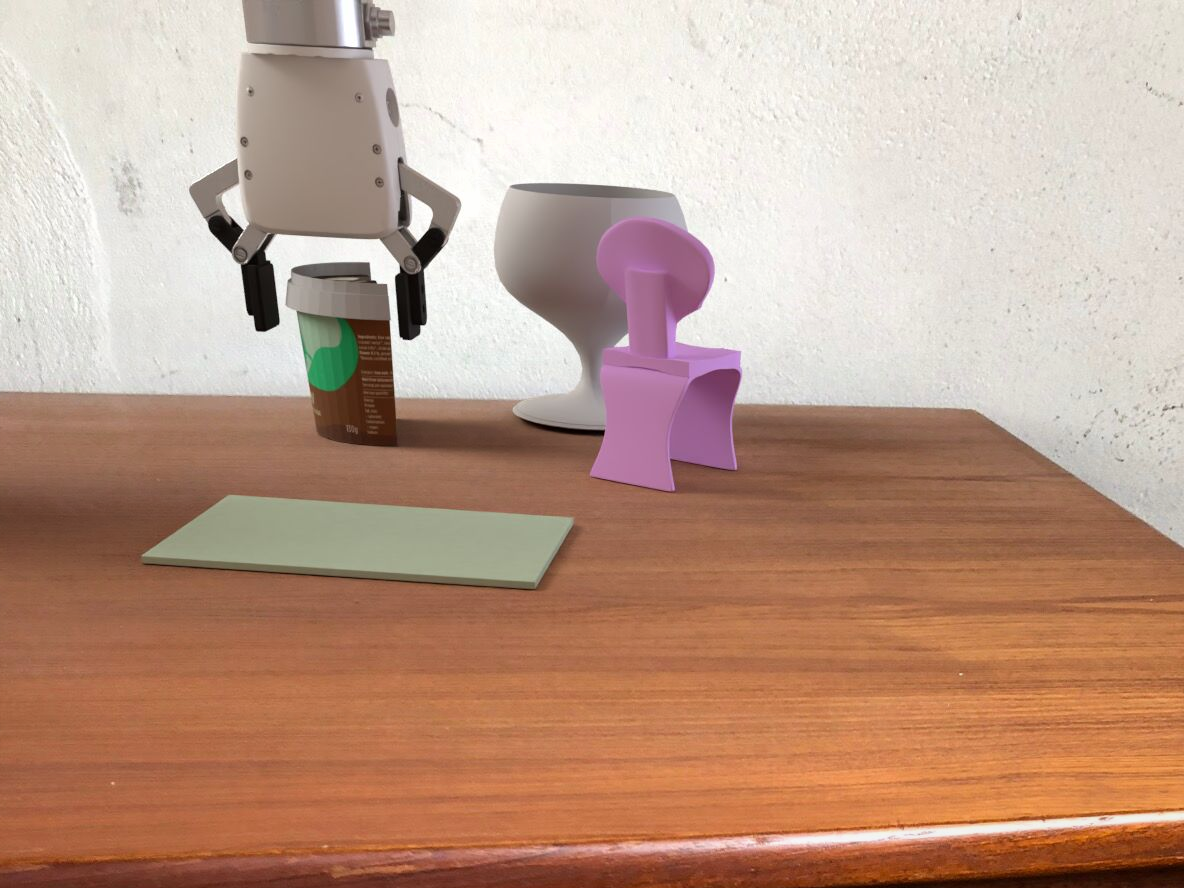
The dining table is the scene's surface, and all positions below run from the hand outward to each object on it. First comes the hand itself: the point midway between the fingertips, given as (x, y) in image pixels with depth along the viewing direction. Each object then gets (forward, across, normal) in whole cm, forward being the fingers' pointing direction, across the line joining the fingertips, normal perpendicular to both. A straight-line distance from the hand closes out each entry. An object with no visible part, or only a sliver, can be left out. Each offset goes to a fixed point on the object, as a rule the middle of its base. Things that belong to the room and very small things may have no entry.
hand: (339, 332), depth 101 cm
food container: (+6, 0, 0) cm, 7 cm away
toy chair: (+7, -23, +6) cm, 25 cm away
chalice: (+7, -16, -10) cm, 20 cm away
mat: (+6, -9, +27) cm, 29 cm away
